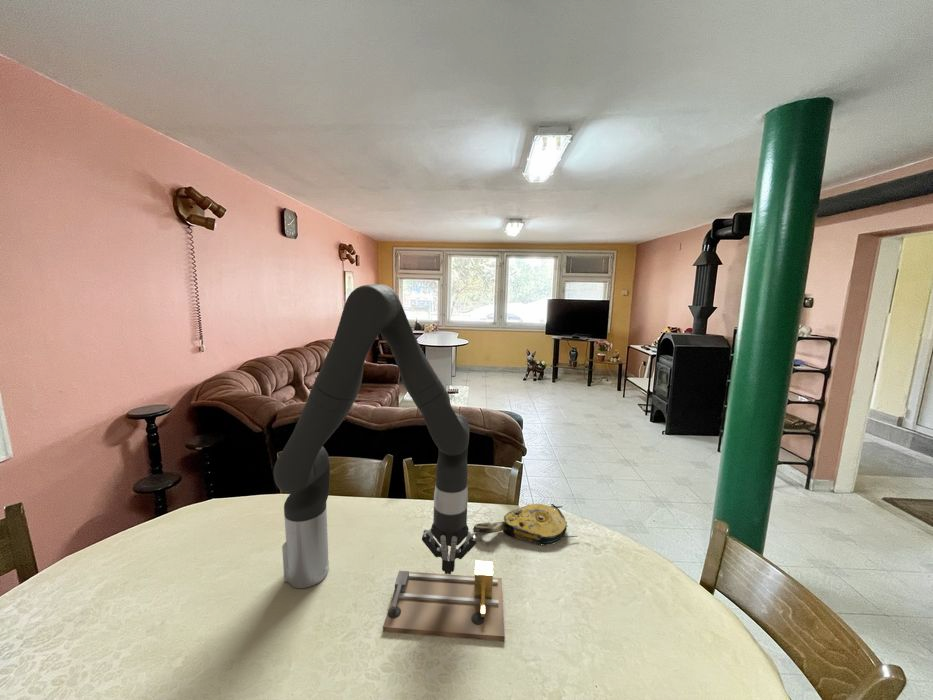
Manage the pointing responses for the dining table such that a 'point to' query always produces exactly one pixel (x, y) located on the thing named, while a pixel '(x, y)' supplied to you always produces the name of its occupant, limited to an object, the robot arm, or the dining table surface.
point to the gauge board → (444, 607)
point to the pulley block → (530, 524)
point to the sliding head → (483, 583)
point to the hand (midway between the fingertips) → (448, 571)
